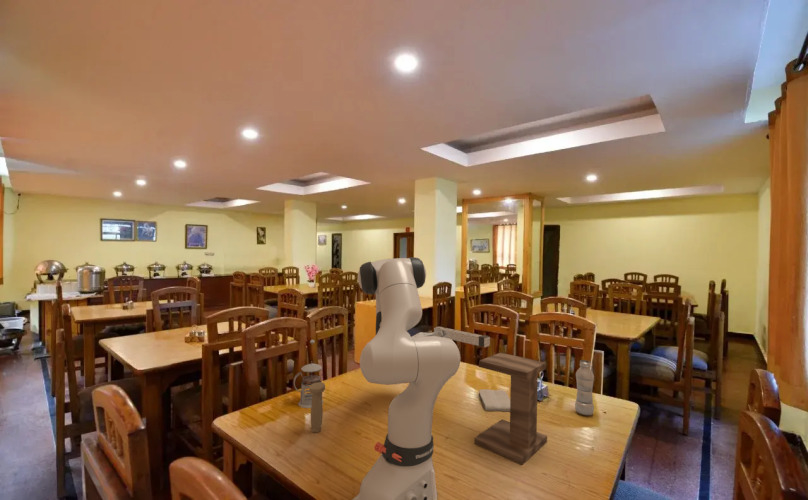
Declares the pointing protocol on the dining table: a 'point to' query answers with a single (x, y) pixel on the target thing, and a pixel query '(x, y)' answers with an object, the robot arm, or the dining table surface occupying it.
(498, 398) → the washcloth
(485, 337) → the grey square bar
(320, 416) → the handle
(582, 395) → the plastic bottle
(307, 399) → the french press
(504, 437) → the mount stand
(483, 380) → the dining table surface
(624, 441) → the dining table surface
